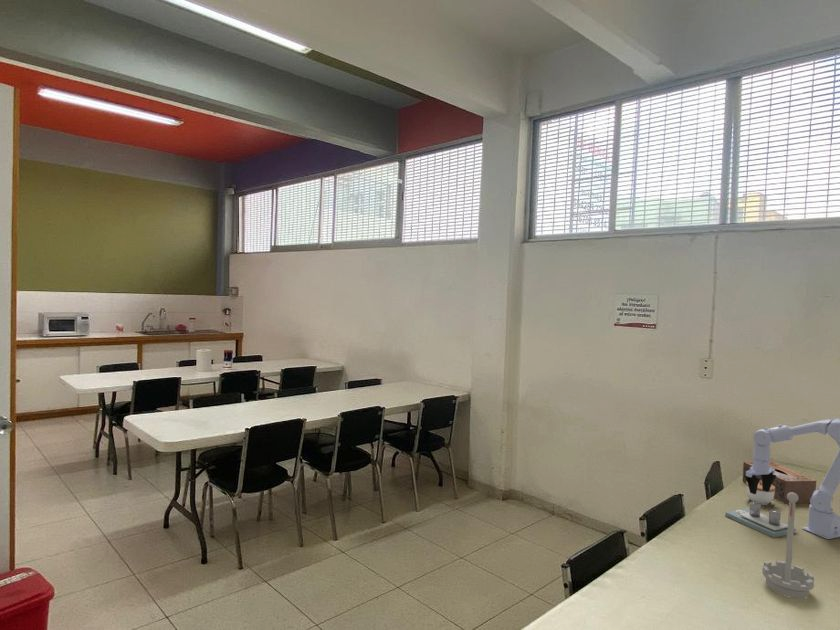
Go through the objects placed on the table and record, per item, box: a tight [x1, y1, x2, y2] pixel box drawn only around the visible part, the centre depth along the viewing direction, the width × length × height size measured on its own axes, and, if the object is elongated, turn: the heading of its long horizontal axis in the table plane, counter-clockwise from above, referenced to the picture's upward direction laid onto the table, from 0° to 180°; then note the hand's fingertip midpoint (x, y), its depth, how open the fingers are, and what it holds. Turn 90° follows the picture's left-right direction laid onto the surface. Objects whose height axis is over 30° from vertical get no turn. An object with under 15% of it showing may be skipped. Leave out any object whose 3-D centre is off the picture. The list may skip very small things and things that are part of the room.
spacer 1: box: [749, 501, 762, 518], centre depth 210 cm, size 4×4×5 cm
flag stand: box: [762, 492, 815, 599], centre depth 163 cm, size 13×13×30 cm
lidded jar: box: [745, 481, 775, 506], centre depth 231 cm, size 11×11×9 cm
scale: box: [724, 507, 797, 539], centre depth 209 cm, size 20×12×3 cm, turn 22°
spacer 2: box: [768, 508, 782, 526], centre depth 203 cm, size 4×4×5 cm
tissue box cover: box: [742, 461, 817, 504], centre depth 244 cm, size 26×14×10 cm, turn 6°
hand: (759, 492), depth 216 cm, fingers open, 7 cm apart
